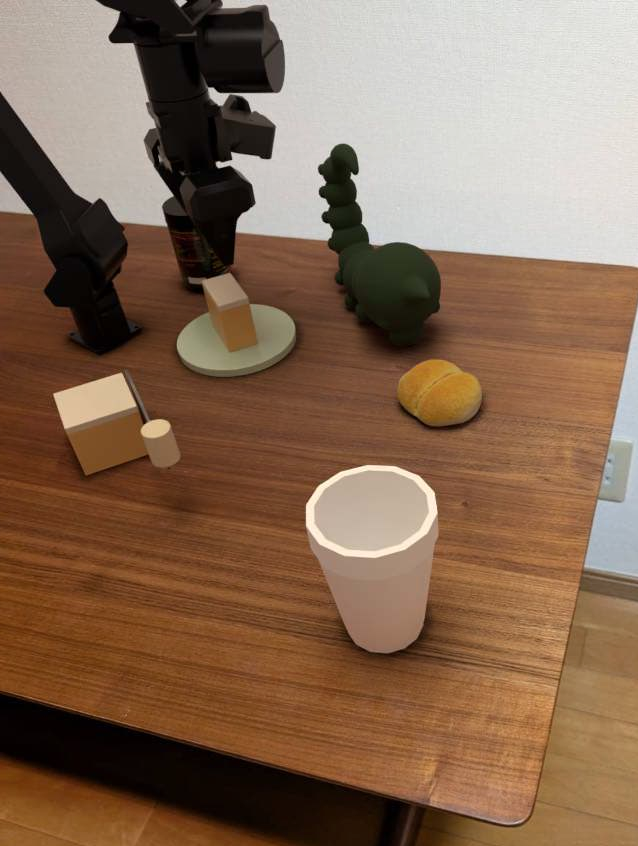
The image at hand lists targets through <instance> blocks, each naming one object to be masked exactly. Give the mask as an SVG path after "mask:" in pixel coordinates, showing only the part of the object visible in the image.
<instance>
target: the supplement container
mask: <svg viewBox="0 0 638 846" xmlns="http://www.w3.org/2000/svg"><path fill="white" fill-rule="evenodd" d="M161 210H162V213H163V216H164V221H165V223H166V226H167V231H168V233H169V237H170V241H171V246H172V248H173V251H174V256H175V259H176V263H177V266H178V271H179V273H180V277H181V280H182V283H183V285H184V286H185V288H187V289H189V290H190V291H193V292H196V293H204V289H203V285H202V281H203V280H206V279H210V278H214V277H217V276H221V275H224V274H228V273H231V275H232V276H233V277H234V269H233V265H230V266H226V267H224V266H223V265H222V263H221V262H220V260H219V259H218V257H217V256H216V254H215V253H214V251H213V250H212V249H211V247H210V246H209V244H208V243H207V241H206V240H205V238H204V237H203V235H202V234H201V232H199V231H198V230H197V229H196V227H195V226H194V224H193V223H192V221H191V220H190V219H189V217H188V216H187V214H186V213H185V211H184V210H183V208H182V207H181V206H180V204H179V203H178V201H177V200H176V198H175V197H174V196H173V195H172V196H171V197H169V198H168V199H166V200H164V202H163V203H162V206H161Z"/></svg>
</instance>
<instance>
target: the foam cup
mask: <svg viewBox="0 0 638 846" xmlns="http://www.w3.org/2000/svg"><path fill="white" fill-rule="evenodd" d="M436 499H437V498H436V493H435V491H434V490H433V489H432V488H431V487H430V485H429V484H427V482H426V481H425V480H424V479H423V478H422V477H421V476H420V475H418V474H415V473H413V472H411V471H409V470H406V469H403V468H401V467H399V466H396V465H395V466H394V465H375V464H366V465H362V466H358V467H354V468H350V469H345V470H342V471H339V472H338V473H336V474H334V475H333V476H331V477H330V478H329V479H327V480H326V481H324V482H322V483H321V484H319V485H318V486H317V487H316V489H315V491H314V492H313V493H312V495H311V497H310V498H309V500H308V502H307V503H306V504H305V528H306V532H307V537H308V542H309V547H310V550H311V551H312V553H313V554H314V556H315V557H316V558H317V560H318V563H319V565H320V568H321V571H322V573H323V576H324V578H325V580H326V583H327V586H328V587H329V590H330V593H331V595H332V597H333V600H334V602H335V605H336V608H337V610H338V612H339V614H340V617H341V619H342V623H343V625H344V628H345V629H346V631H347V633H348V635H349V636H350V638H351V639H352V641H353V642H354V644H355V645H356V646H358V647H360V648H362V649H364V650H366V651H367V652H370V653H377V654H378V653H379V654H390V653H391V654H392V653H394V652H397V651H400V650H405V649H406V648H407V647H408V646H410V645H411V644H412V643H413V642H415V641H416V640H417V639H418V638H419V636H420V633H421V632H422V630H423V627H424V622H425V618H426V612H427V603H428V596H429V588H430V582H431V581H430V580H431V576H432V575H431V574H432V567H433V559H434V553H435V546H436V542H437V540H438V538H439V533H440V532H439V514H438V507H437V500H436Z"/></svg>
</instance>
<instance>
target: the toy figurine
mask: <svg viewBox="0 0 638 846" xmlns="http://www.w3.org/2000/svg"><path fill="white" fill-rule="evenodd" d="M317 173H318V174H319V175H320V176H322V178H323V180H324V181H325V184H324V185H321V186H319V188H318V196H319V197H320V198H321V199H323V200H324V199H325V201H326V203H327V205H328V209H327V210H325V211H323V212H322V213H321V221H322V222H323V223H324V224H327V225H329V226H330V228H331V229H332V232H331V236H330V237H329V238H328V239H327V246H328V249H329V250H331V251H332V252H335V253H336V255H338V257H337V260H338V263H337V264H338V266H337V267H338V270H337V271H336V272H335V274H334V281H335V283H336V284H337V285H339V286H341V287H344V288H345V290H346V291H347V292H346V293H345V294H344V304H345V306H346V307H347V308H349V309H353V310H354V309H355V316H356V318H357V319H358V321H359V322H362V323H365V324H366V323H369V322H372V323H374V324H375V325H377V326H378V327H379V328H380V329H384V330H388V337H389V339H390V341H391V343H392V344H394V345H395V346H398V347H406V346H410V345H413V344H416V343H417V342H419V341H420V340H422V338H423V337H424V336H425V333H426V326H425V323H424V322H426V321H427V320H428V319H429V318H430V317H431V316H432V315H433V314H437V313H438V312H439V311H440V309H441V303H440V299H441V294H442V293H441V291H442V279H441V275H440V274H441V273H440V271H439V269H438V267H437V265H436V263H435V261H434V260H433V258H432V257H431V256H430V254H428V253H427V252H426V251H424V249H422V248H420V247H418V246H417V245H414V244H411V243H409V242H401V241H395V242H388V243H385V244H383V245H380V246H378V247H376V248H375V247H374V245H372V244H371V243H370V236H369V232H368V230H367V228H366V226H365V225H364V224H363V211H362V208H361V206H360V205H359V203H358V202H357V201H356V200H357V197H358V190H357V186H356V183H355V182H354V180H353V179H352V178H351V177H352V175H353V176H358V175H359V173H360V165H359V159H358V155H357V152H356V150H355V149H354V148H353V147H352V146H351V145H349V144H348V143H338V144H336V145H334V147H332V149H331V151H330V154H329V156H328V157H327V158H326V159H325V160H324V161H323V163H321V164H319V165H318V166H317Z"/></svg>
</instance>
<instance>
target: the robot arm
mask: <svg viewBox="0 0 638 846" xmlns="http://www.w3.org/2000/svg"><path fill="white" fill-rule="evenodd" d="M95 1H96V2H97V3H98V4H100V5H102V6H104V7H106V8H108V9H111V10H114V11H116V12H119V14H118V19H117V21H116V24H115V25H114V28H113V29H112V30H111V32H110V33H109V34H108V41H109V42H110V43H111V44H115V45H116V44H133V46H134V47H133V48H134V51H135V54H136V58H137V61H138V65H139V69H140V73H141V76H142V77H141V78H142V80H143V84H144V88H145V92H146V95H147V99H148V101H147V102H145V107H146V110H147V114H148V115H149V117H151V120H153V123H154V126H155V127H153V128H149V129H148V131H147V133H146V135H145V136H144V138H143V144H144V146H145V147H144V148H145V151H146V155H147V158H148V160H150V162H151V164H152V165H153V168H154V170H155V171H156V173H157V174H158V175H159V177H160V178H161V180H162V181H163V182H164V184H165V186H166V187H167V188H168V190H169V191H170V193H171V194H172V197H173V196H174V197H175V198H176V200H177V201H178V203H179V204H180V206H181V207H182V208H183V210H184V211H185V213H186V214H187V216H188V217H189V219H190V220H191V221H192V223H193V224H194V226H195V227H196V229H197V230H198V231H199V232H201V234H202V235H203V237H204V238H205V240H206V241H207V243H208V244H209V246H210V247H211V249H212V250H213V251H214V253H215V254H216V256H217V257H218V259H219V260H220V262H221V263H222V265H223V266H224V267H226V266H230V265H232V266H233V265H234V263H235V251H236V235H237V224H238V220H239V219H240V217H241V216H242V215H243V214H244V213H247V212H249V211H250V210H251V208H253V207H255V206H256V204H257V202H256V198H255V193H254V188H253V184H252V183H251V182H250V181H249V180H248V178H247V177H246V176H245V175H244V174H243V172H241V171H239V170H238V169H236V168H235V167H233V166H232V165H225V166H222V167H219V166H217V163H219V162H220V163H226V162H231V161H233V156H232V153H233V154H238V155H245V156H251V157H252V156H253V157H258V158H259V159H261V160H268V161H269V160H272V156H273V151H274V145H275V144H274V143H275V138H276V129H277V126H276V124H274V122H273V121H271V120H270V118H268V117H267V116H266V115H263V114H261V113H259V112H258V111H257V110H253V111H252V109H251V106H250V104H249V103H250V102H249V100H247V99H246V98H245V97H244V96H243V95H238V94H280V92H281V91H282V90H283V87H284V82H285V76H286V55H285V48H284V46H285V45H284V41H283V39H281V37H280V34H279V31H278V28H277V26H276V24H275V23H274V22H273V21H272V20H271V16H270V10H269V7H268V5H267V4H253V5H249V6H247V7H224V8H223V6H224V2H223V1H222V0H185V1H186V2H184V3H183V4H182V5H181V6H180V5H179V4H178V3H177V1H178V0H95ZM210 88H211V89H214V90H215V92H216V93H218V94H229V95H228V96H227V98H226V99H225V100H224V102H223V104H221V105H219V104H218V103H217V102H215V101H214V100H213V99H212V98H211V95H210V90H209V89H210ZM0 174H1V175H2V176H3V177H4V179H5V180H6V181H7V182H8V184H9V185H10V187H11V188H12V189H13V190H14V192H15V193H16V194H17V195H18V198H20V199H21V201H22V202H23V204H25V206H26V207H27V208H28V209H29V212H30V213H32V215H33V217H34V218H35V220H36V222H37V223H36V224H37V227H38V231H39V234H40V238H41V243H42V247H43V250H44V252H45V254H46V255H47V257H48V259H49V260H50V262H51V263H52V265H53V267H54V269H55V271H54V273H53V274H52V276H51V278H50V279H49V281H48V283H47V284H46V285H45V287H44V289H43V291H42V292H43V294H44V295H45V296H46V298H47V299H48V300H49V301H50V303H51V304H52V306H54V307H55V308H69V311H70V314H71V316H72V318H73V321H74V324H75V327H76V328H77V329H75V330H73V331H71V332H70V333H68V334H67V337H68V339H69V340H71V341H73V342H74V343H76V344H78V345H80V346H82V347H84V348H86V349H88V350H89V351H92V352H94V353H96V354H98V355H102V354H104V353H106V352H107V351H110V350H111V349H113V348H115V347H117V346H118V345H119V344H122V343H123V342H125V341H126V340H128V339H130V338H131V337H133V336H134V335H136V334H138V333H140V332H142V326H141V325H140V324H138V323H136V322H134V321H131V320H129V319H127V316H126V314H125V311H124V308H123V305H122V303H121V300H120V297H119V294H118V291H117V289H116V286H115V283H114V282H113V281H114V279H115V278H116V277H117V276H118V275H119V274H121V273H122V269H123V266H122V265H123V263H124V261H125V260H126V258H127V257H128V247H129V243H128V240H127V238H126V236H125V234H124V231H125V230H126V227H125V226H124V225H123V224H122V223H120V222H119V220H117V218H115V216H114V214H113V213H112V211H111V210H110V208H109V206H108V204H107V202H105V200H104V199H102V198H101V197H99V198H96V200H95V201H94V202H91V201H89V200H88V199H86V198H84V197H82V196H80V195H79V194H77V193H76V192H75V191H74V190H73V189H72V188H71V186H70V185H69V183H68V181H66V179H65V178H64V177H63V175H62V174H61V173H60V171H59V170H58V169H57V167H56V165H54V163H53V162H52V160H51V159H50V157H49V156H48V155H47V154H46V152H45V151H44V150H43V148H42V146H41V145H40V144H39V142H38V141H37V140H36V138H35V137H34V135H33V134H32V133H31V132H30V130H29V129H28V127H27V126H26V124H24V122H23V120H22V119H21V118H20V116H19V115H18V114H17V112H16V111H15V110H14V108H13V107H12V105H11V104H10V103H9V101H8V100H7V99H6V97H5V96H4V94H3V93H2V92H1V91H0Z"/></svg>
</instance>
